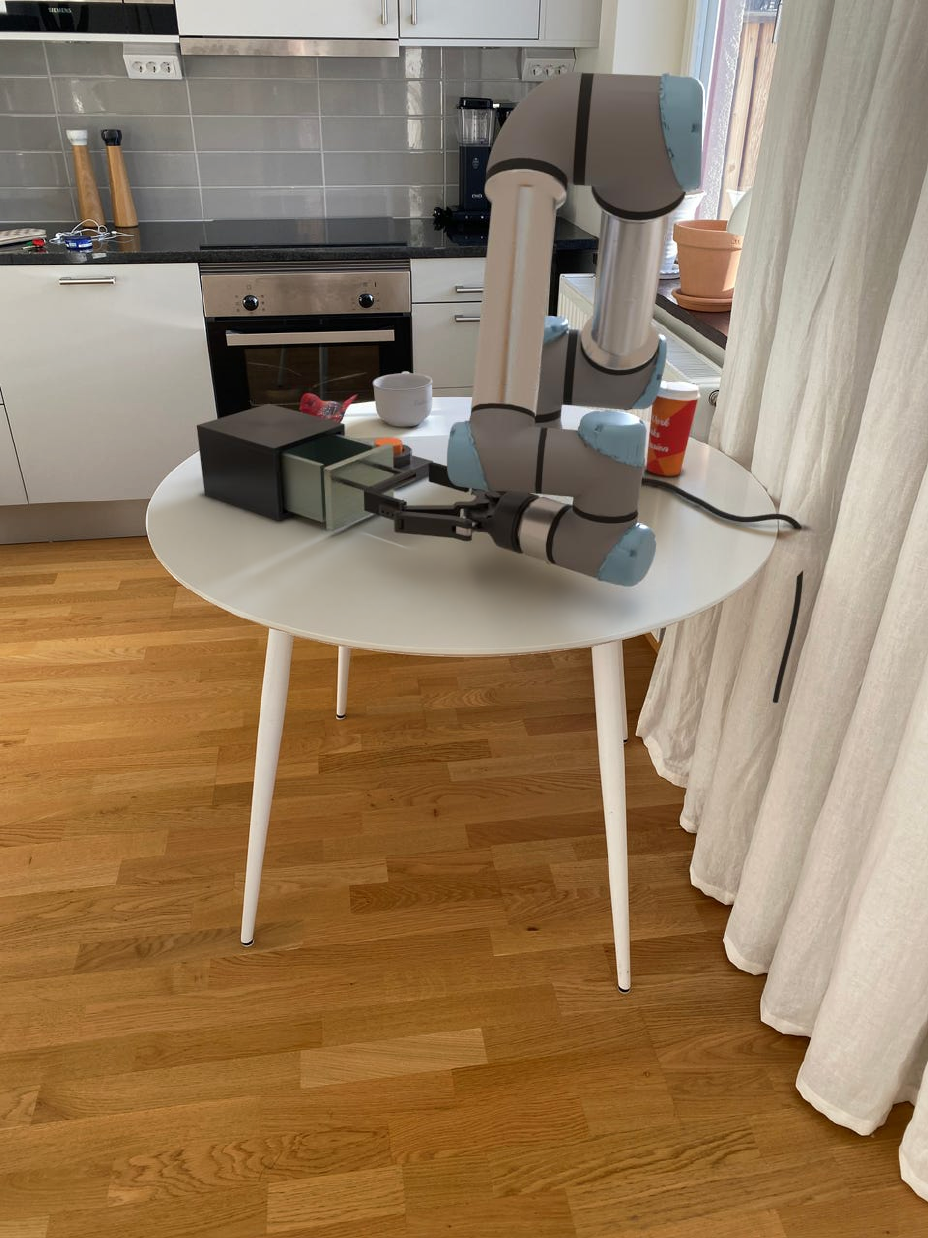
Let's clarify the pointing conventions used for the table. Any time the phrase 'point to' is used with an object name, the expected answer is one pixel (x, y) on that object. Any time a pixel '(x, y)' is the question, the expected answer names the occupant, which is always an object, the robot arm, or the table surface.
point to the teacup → (403, 398)
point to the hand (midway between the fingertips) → (399, 485)
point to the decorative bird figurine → (324, 407)
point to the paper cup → (671, 426)
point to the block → (411, 464)
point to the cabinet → (255, 455)
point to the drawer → (337, 478)
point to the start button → (392, 441)
